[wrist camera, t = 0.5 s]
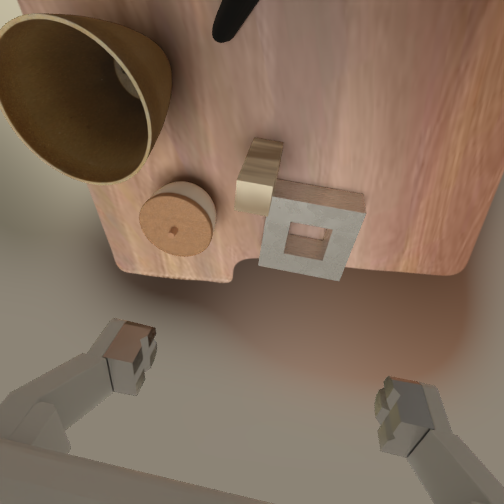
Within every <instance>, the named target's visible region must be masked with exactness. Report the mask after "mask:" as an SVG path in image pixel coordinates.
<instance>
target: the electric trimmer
mask: <svg viewBox="0 0 504 504" xmlns="http://www.w3.org/2000/svg"><path fill="white" fill-rule="evenodd" d="M258 1H259V0H222V2H221V5H220V7H219V10H218V12H217V15H216V18H215V21H214V24H213V29H212V36H213V38H214V40H215V41H217V42H219V43H224V42H227V41H230V40H231V39H232V38H233V37H234V35H235V34H236V33H237V31H238V30H239V28H240V27H241V25H242V24H243V23H244V21H245V20H246V18H247V17H248V15H249V14H250V12H251V11H252V10H253V8H254V7H255V5H256V4H257V2H258Z"/></svg>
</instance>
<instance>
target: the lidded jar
mask: <svg viewBox="0 0 504 504" xmlns="http://www.w3.org/2000/svg"><path fill="white" fill-rule="evenodd" d="M139 220H140V225H141V228H142V231H143V233H144V234H145V236H146V237H147V238H148V240H149V241H150V242H151V243H152V244H154V245H155V246H156V247H157V248H159V249H161V250H162V251H164V252H166V253H169V254H172V255H176V256H184V257H185V256H193V255H197V254H199V253H201V252H203V251H204V250H205V249H206V248H207V247H208V246H209V244H210V242H211V239H212V235H213V232H214V229H215V225H216V209H215V205H214V203H213V201H212V199H211V197H210V196H209V194H208V193H207V192H206V191H205V190H203V189H202V188H201V187H199V186H197V185H195V184H193V183H190V182H182V181H178V182H173V183H169V184H167V185H165V186H163V187H161V188H160V189H159V190H157V191H156V192H155V193H154V194H153V195H152V196H151V197H150V199H148V200H147V201H146V203H145V204H144V205H143V206H142V208H141V211H140V215H139Z"/></svg>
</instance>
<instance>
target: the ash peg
mask: <svg viewBox="0 0 504 504" xmlns="http://www.w3.org/2000/svg"><path fill="white" fill-rule="evenodd" d="M282 149H283V142H278V141H272V140H266V139H260V138H254V140H253V142H252V145H251V147H250V150H249V152H248V154H247V157H246V159H245V162H244V164H243V166H242V169H241V171H240V174H239V176H238V178H237V184H236V195H235V207H234V211H240V212H245V213H251V214H256V215H261V216H267V217H268V214H269V210H270V206H271V201H272V197H273V193H274V188H275V184H276V180H277V176H278V171H279V166H280V160H281V155H282Z"/></svg>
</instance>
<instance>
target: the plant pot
mask: <svg viewBox="0 0 504 504" xmlns="http://www.w3.org/2000/svg"><path fill="white" fill-rule="evenodd" d="M123 70H124V71H125V72H126V73H124V72H123ZM171 89H172V72H171V67H170V63H169V61H168V59H167V57H166V55H165V53H164V52H163V50H162V49H161V48H160V47H159V46H158V45H157V44H156V43H155V42H154V41H152V40H151V39H149V38H148V37H146V36H144V35H143V34H141V33H139V32H137V31H134V30H132V29H130V28H127V27H125V26H122V25H119V24H115V23H112V22H108V21H104V20H100V19H95V18H89V17H84V16H76V15H65V14H26V15H22V16H19V17H17V18H14V19H12V20H11V21H9V22H8V23H6V24H5V25H4V26H3V27H2V28H1V29H0V109H1V111H2V113H3V115H4V116H5V118H6V120H7V121H8V123H9V124H10V126H11V128H12V129H13V130H14V132H15V133H16V134H17V135H18V137H19V138H20V139H21V141H22V142H23V143H24V144H25V145H26V146H27V147H28V148H29V149H30V150H31V151H32V152H33V153H34V154H35V155H36V156H37V157H39V158H40V159H41V160H42V161H43V162H45V163H46V164H47V165H49V166H50V167H52V168H53V169H55V170H57V171H58V172H60V173H62V174H64V175H66V176H68V177H70V178H73V179H75V180H79V181H81V182H85V183H89V184H95V185H113V184H118V183H121V182H124V181H126V180H128V179H130V178H131V177H133V176H134V175H135V174H136V173H138V171H139V170H140V169H141V168H142V167H143V165H144V164H145V162H146V160H147V158H148V156H149V154H150V152H151V150H152V149H153V147H154V144H155V142H156V140H157V138H158V136H159V134H160V131H161V129H162V127H163V124H164V121H165V118H166V115H167V111H168V107H169V103H170V97H171Z"/></svg>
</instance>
